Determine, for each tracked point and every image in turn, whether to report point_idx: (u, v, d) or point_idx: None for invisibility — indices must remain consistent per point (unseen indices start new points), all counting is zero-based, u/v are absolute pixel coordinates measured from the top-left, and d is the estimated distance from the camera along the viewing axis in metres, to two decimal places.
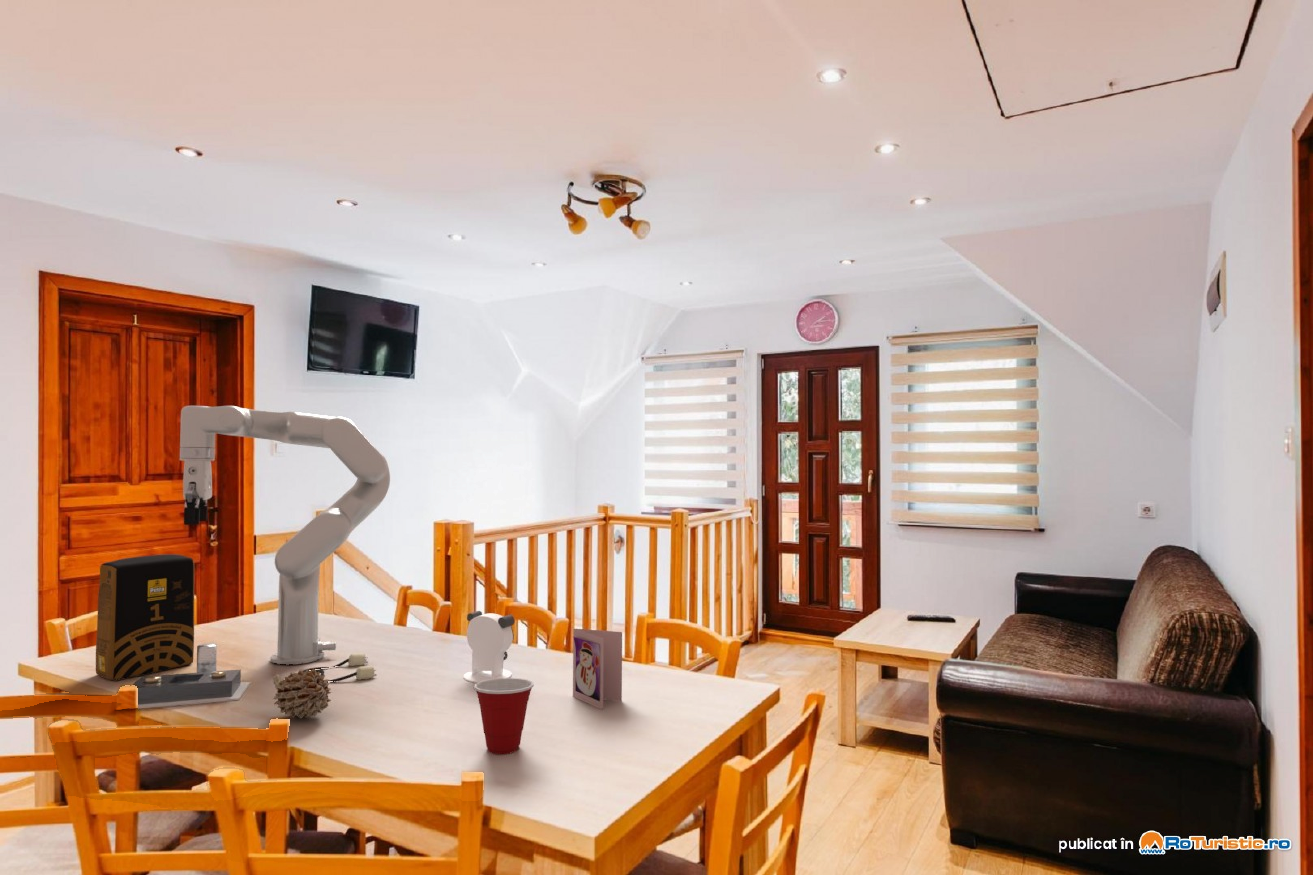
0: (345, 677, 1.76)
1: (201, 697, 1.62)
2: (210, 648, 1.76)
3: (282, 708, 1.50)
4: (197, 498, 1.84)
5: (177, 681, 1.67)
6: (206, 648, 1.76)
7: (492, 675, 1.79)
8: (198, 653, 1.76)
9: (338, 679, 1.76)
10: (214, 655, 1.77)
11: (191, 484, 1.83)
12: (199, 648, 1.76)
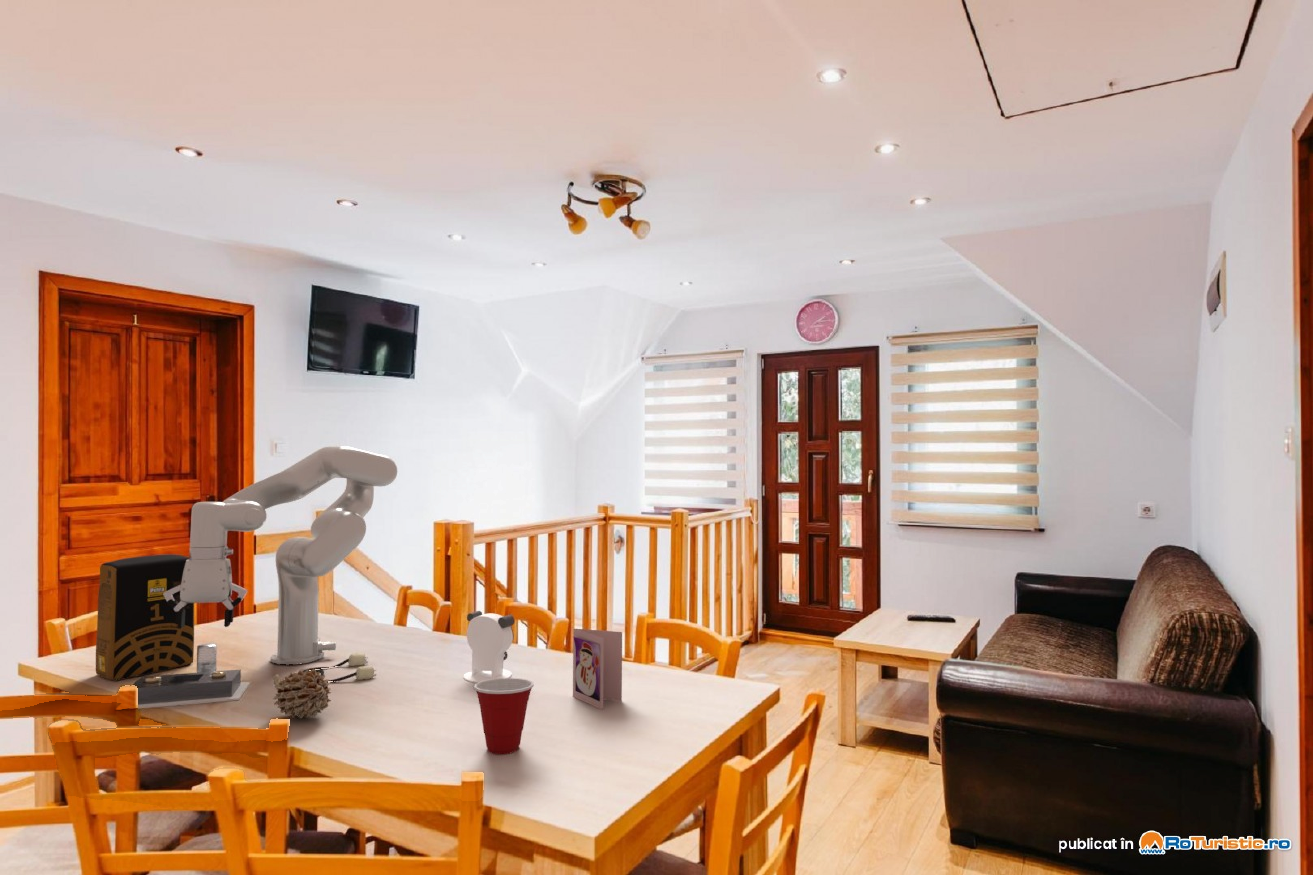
0: (345, 677, 1.76)
1: (201, 697, 1.62)
2: (210, 648, 1.76)
3: (282, 708, 1.50)
4: (229, 597, 1.80)
5: (177, 681, 1.67)
6: (206, 648, 1.76)
7: (492, 675, 1.79)
8: (199, 653, 1.76)
9: (338, 679, 1.76)
10: (214, 655, 1.77)
11: (233, 584, 1.79)
12: (199, 648, 1.76)
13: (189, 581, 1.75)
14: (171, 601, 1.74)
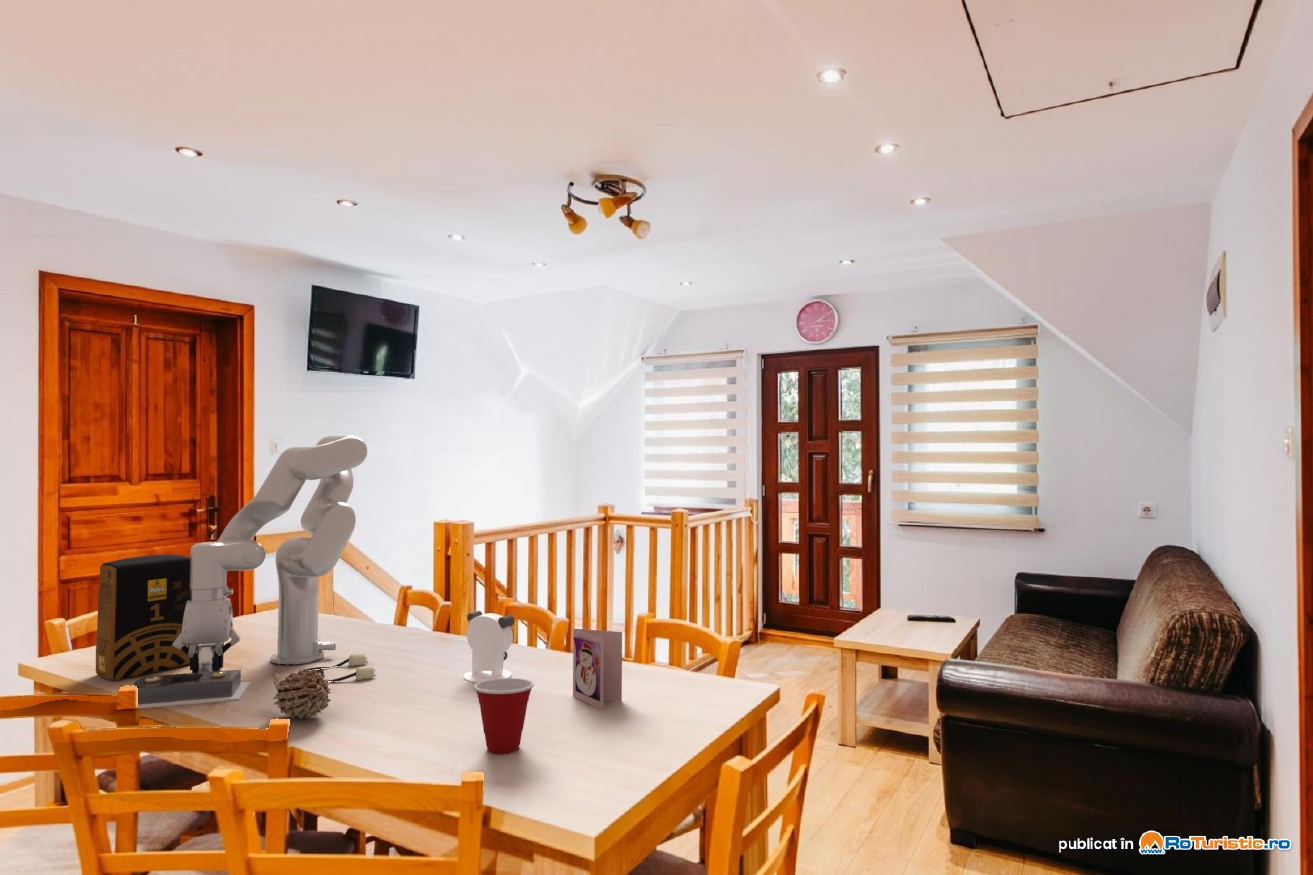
0: (344, 677, 1.76)
1: (201, 697, 1.62)
2: (210, 648, 1.76)
3: (282, 708, 1.50)
4: (223, 642, 1.80)
5: (177, 681, 1.67)
6: (206, 648, 1.76)
7: (492, 675, 1.79)
8: (198, 653, 1.76)
9: (337, 679, 1.76)
10: (214, 655, 1.77)
11: (231, 628, 1.79)
12: (199, 648, 1.76)
13: (190, 623, 1.75)
14: (184, 648, 1.75)
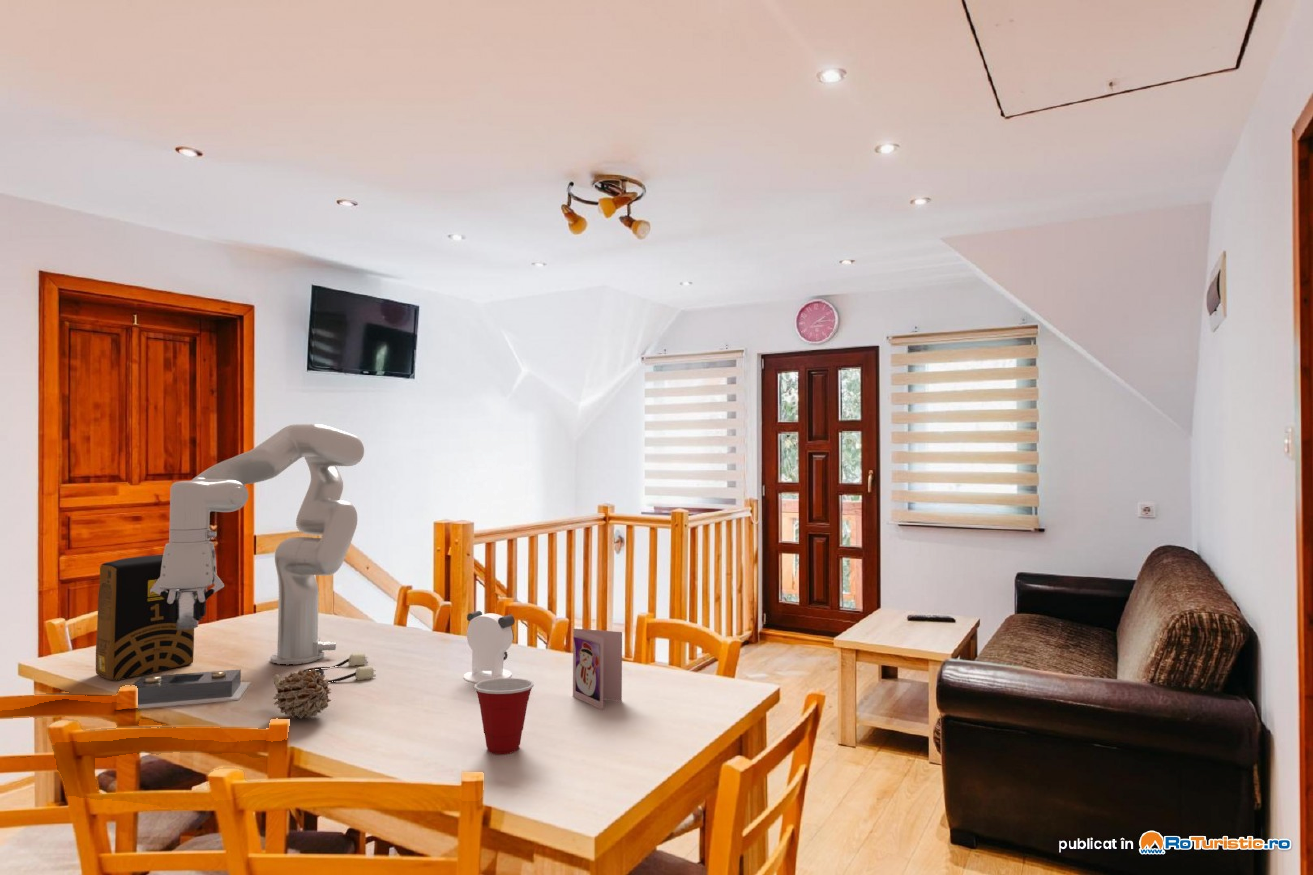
0: (344, 677, 1.76)
1: (201, 697, 1.62)
2: (191, 594, 1.64)
3: (282, 708, 1.50)
4: (206, 588, 1.67)
5: (177, 681, 1.67)
6: (187, 593, 1.63)
7: (492, 675, 1.79)
8: (179, 599, 1.63)
9: (337, 679, 1.76)
10: (196, 601, 1.65)
11: (214, 573, 1.67)
12: (179, 593, 1.63)
13: (169, 566, 1.62)
14: (164, 593, 1.63)
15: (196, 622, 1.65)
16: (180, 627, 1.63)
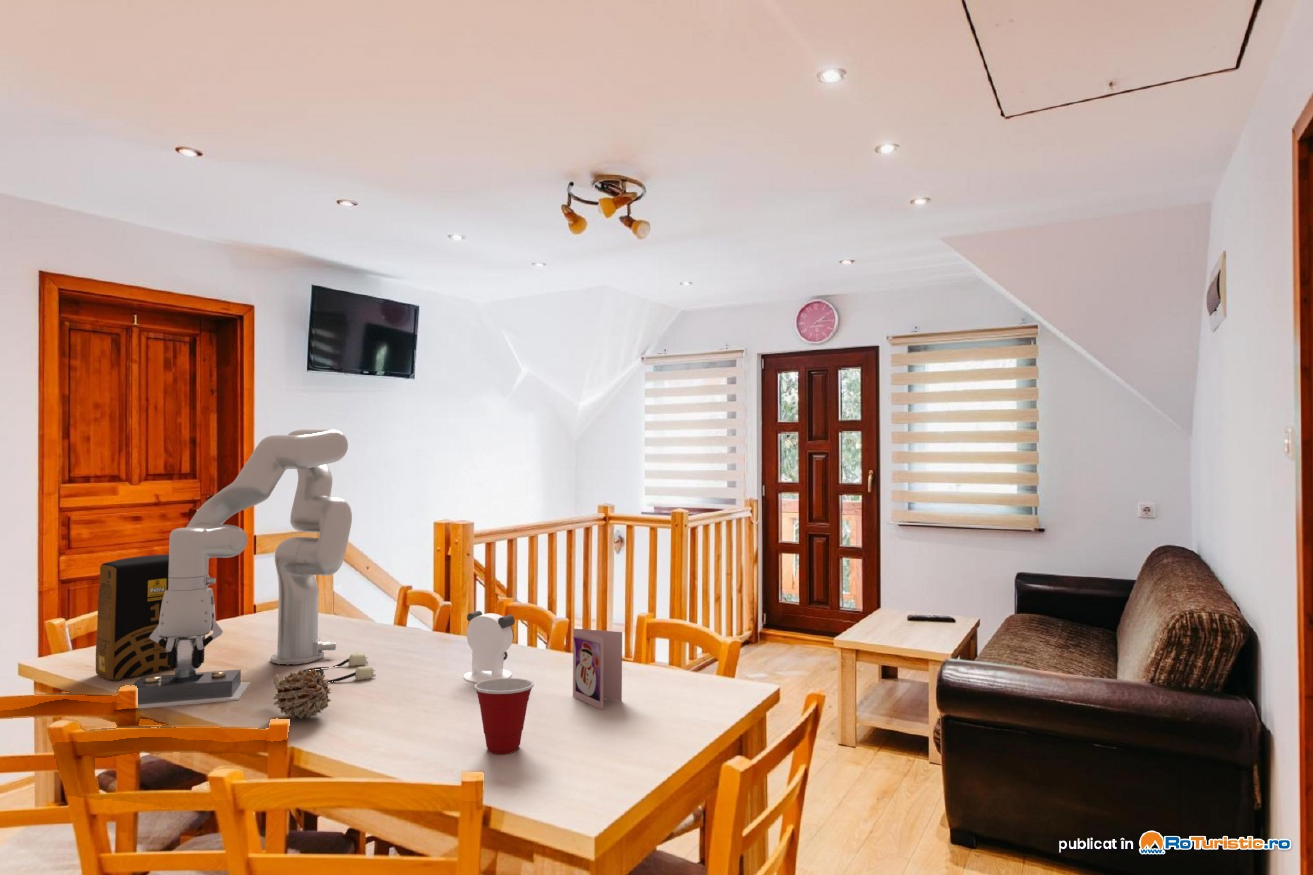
0: (344, 677, 1.76)
1: (201, 697, 1.62)
2: (190, 641, 1.64)
3: (282, 708, 1.50)
4: (204, 635, 1.67)
5: (177, 681, 1.67)
6: (185, 641, 1.63)
7: (492, 675, 1.79)
8: (177, 647, 1.63)
9: (337, 679, 1.76)
10: (194, 649, 1.65)
11: (213, 620, 1.67)
12: (178, 641, 1.63)
13: (168, 614, 1.62)
14: (162, 641, 1.63)
15: (194, 670, 1.65)
16: (178, 675, 1.63)
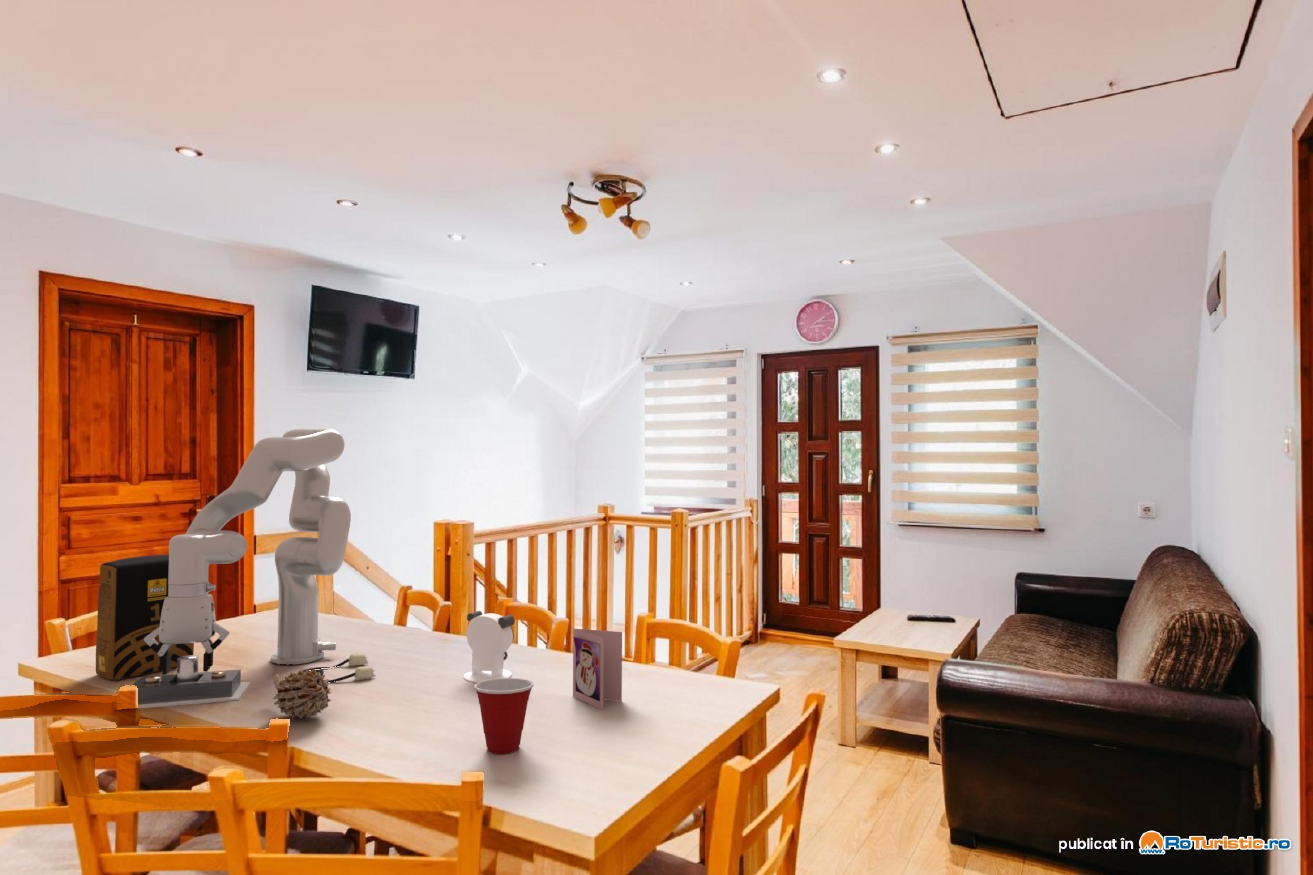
0: (344, 677, 1.76)
1: (201, 697, 1.62)
2: (190, 660, 1.64)
3: (282, 708, 1.50)
4: (210, 639, 1.67)
5: None
6: (186, 660, 1.63)
7: (492, 675, 1.79)
8: (178, 666, 1.63)
9: (337, 679, 1.75)
10: (195, 668, 1.65)
11: (215, 623, 1.67)
12: (179, 660, 1.63)
13: (168, 621, 1.62)
14: (154, 645, 1.62)
15: None
16: None
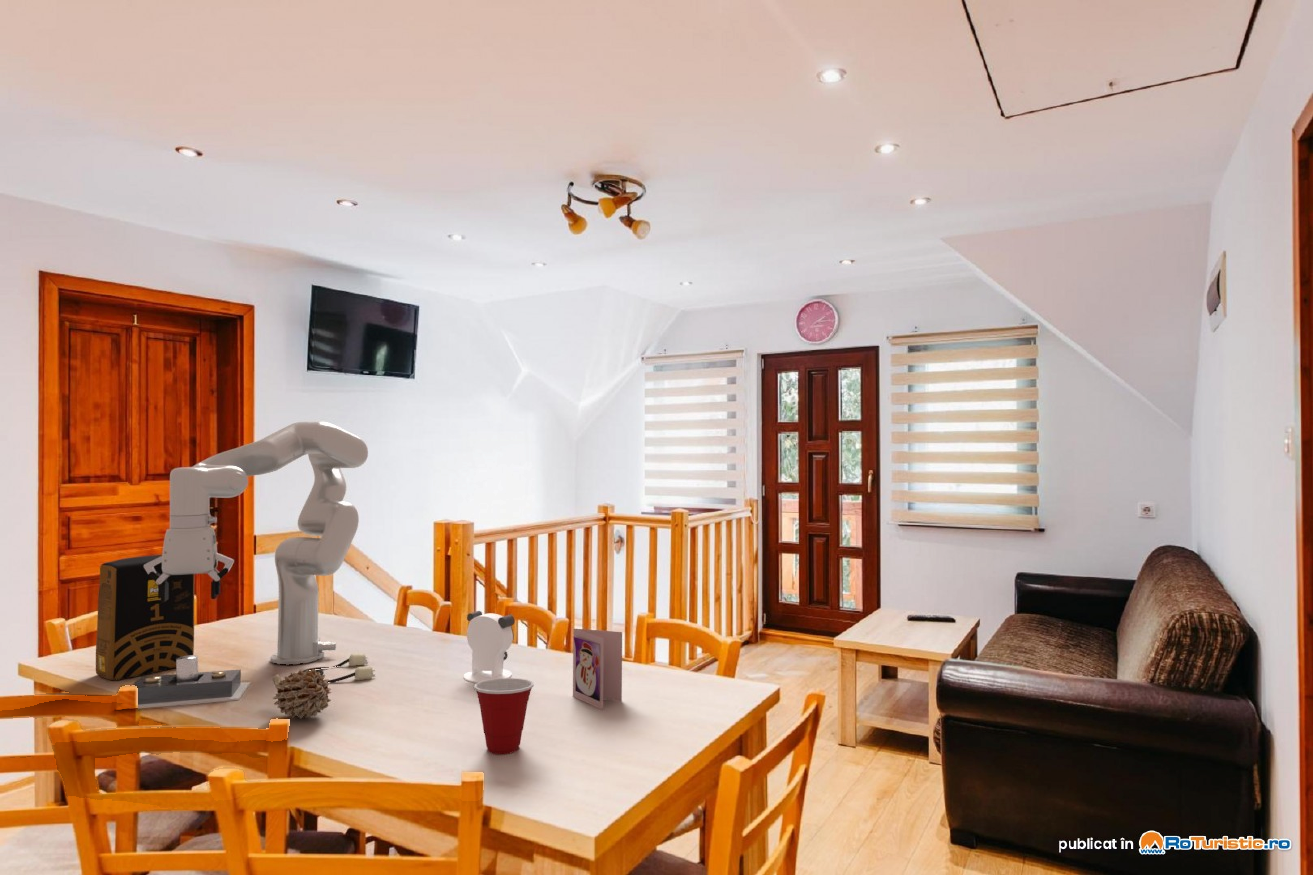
0: (343, 677, 1.76)
1: (201, 697, 1.62)
2: (189, 661, 1.64)
3: (282, 708, 1.50)
4: (215, 568, 1.69)
5: None
6: (185, 661, 1.63)
7: (492, 675, 1.79)
8: (177, 666, 1.63)
9: (336, 679, 1.75)
10: (194, 668, 1.65)
11: (218, 553, 1.68)
12: (178, 661, 1.63)
13: (171, 552, 1.63)
14: (152, 574, 1.63)
15: None
16: None
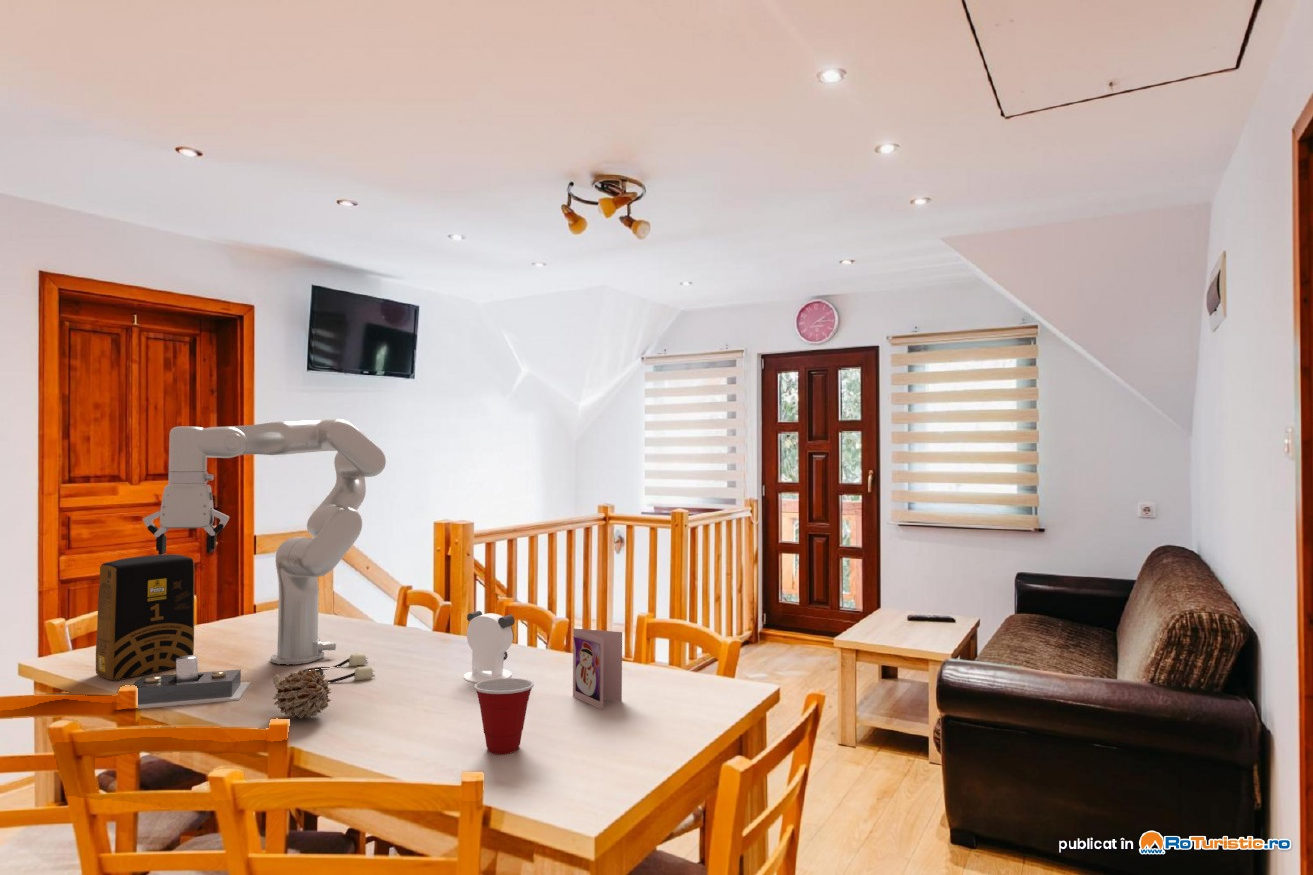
0: (343, 677, 1.76)
1: (201, 697, 1.62)
2: (188, 661, 1.64)
3: (282, 708, 1.50)
4: (211, 524, 1.77)
5: None
6: (184, 661, 1.63)
7: (492, 675, 1.79)
8: (177, 666, 1.63)
9: (336, 679, 1.75)
10: (194, 668, 1.65)
11: (214, 510, 1.76)
12: (177, 661, 1.63)
13: (169, 506, 1.71)
14: (151, 527, 1.71)
15: None
16: None
